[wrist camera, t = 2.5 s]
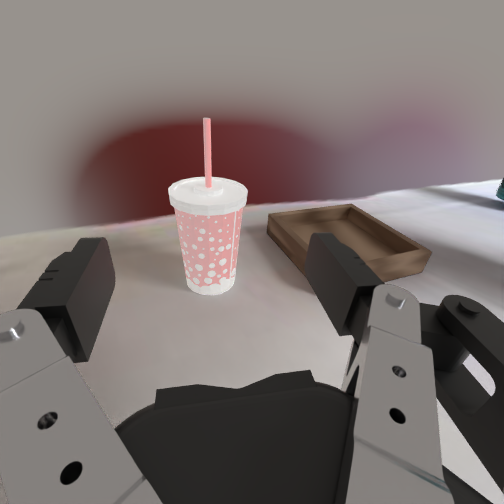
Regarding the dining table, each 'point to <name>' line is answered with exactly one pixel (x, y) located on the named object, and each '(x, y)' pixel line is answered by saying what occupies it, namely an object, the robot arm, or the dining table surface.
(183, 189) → the beverage cup
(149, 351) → the dining table surface
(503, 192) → the beverage bottle
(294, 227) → the walnut tray
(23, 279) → the dining table surface
